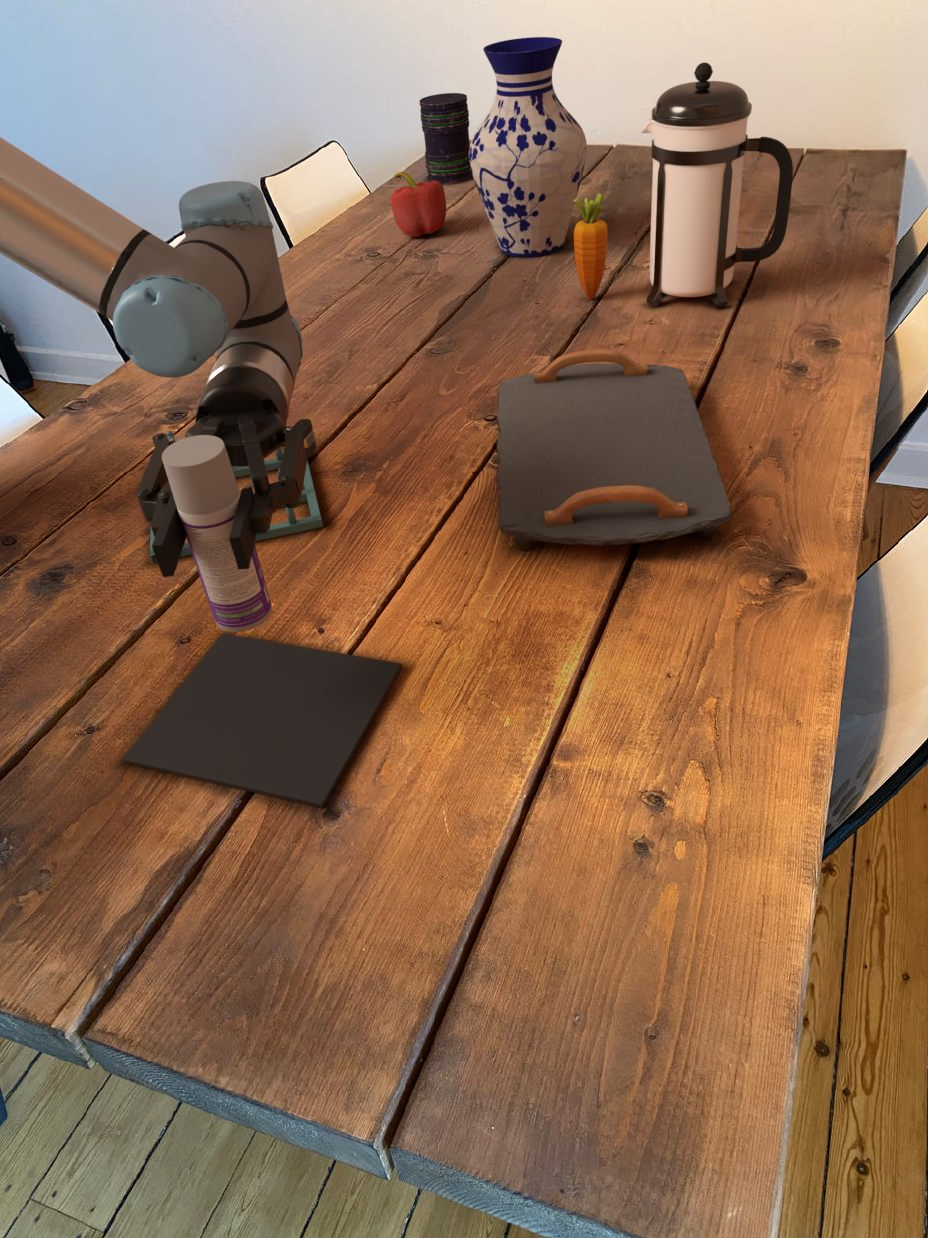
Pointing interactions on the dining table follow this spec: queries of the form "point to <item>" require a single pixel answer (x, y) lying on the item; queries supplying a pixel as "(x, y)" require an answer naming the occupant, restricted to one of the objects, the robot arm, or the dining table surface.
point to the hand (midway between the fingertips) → (201, 557)
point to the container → (215, 531)
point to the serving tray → (604, 455)
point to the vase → (527, 150)
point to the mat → (267, 718)
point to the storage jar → (446, 137)
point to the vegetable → (419, 206)
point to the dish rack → (284, 527)
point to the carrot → (590, 245)
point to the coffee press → (704, 188)
